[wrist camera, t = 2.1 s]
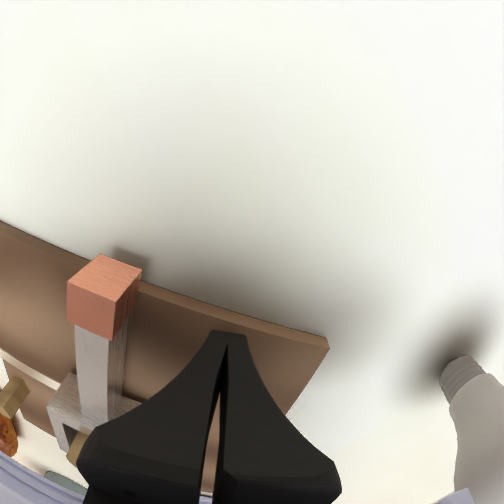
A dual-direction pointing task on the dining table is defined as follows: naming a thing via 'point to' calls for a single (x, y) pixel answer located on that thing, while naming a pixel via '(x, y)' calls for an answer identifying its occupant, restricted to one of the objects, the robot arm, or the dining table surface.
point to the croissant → (7, 436)
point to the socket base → (137, 345)
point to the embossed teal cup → (66, 483)
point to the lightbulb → (476, 429)
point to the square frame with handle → (96, 348)
